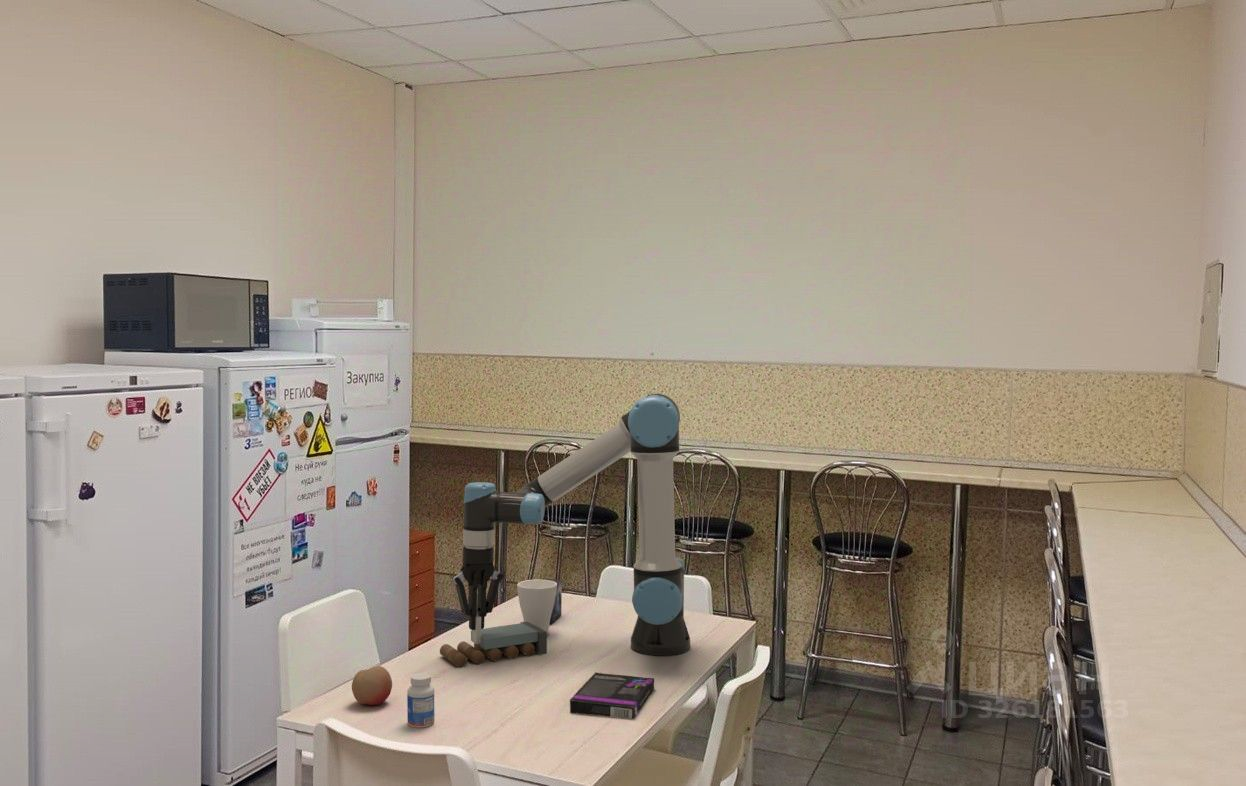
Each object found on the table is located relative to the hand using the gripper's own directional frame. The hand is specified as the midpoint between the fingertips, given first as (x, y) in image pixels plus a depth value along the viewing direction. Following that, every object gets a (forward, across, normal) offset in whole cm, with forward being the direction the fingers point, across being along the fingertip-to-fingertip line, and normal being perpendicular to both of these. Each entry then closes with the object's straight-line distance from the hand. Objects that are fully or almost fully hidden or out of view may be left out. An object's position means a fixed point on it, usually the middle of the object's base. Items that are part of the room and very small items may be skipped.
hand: (476, 642), depth 252 cm
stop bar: (+4, -16, 0) cm, 16 cm away
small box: (+3, -31, -23) cm, 39 cm away
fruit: (+5, +32, +19) cm, 37 cm away
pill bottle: (+5, +27, +35) cm, 44 cm away
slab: (+1, -8, 0) cm, 8 cm away
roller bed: (+4, -3, 0) cm, 5 cm away
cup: (+4, -22, -11) cm, 25 cm away
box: (+5, -14, +43) cm, 45 cm away
